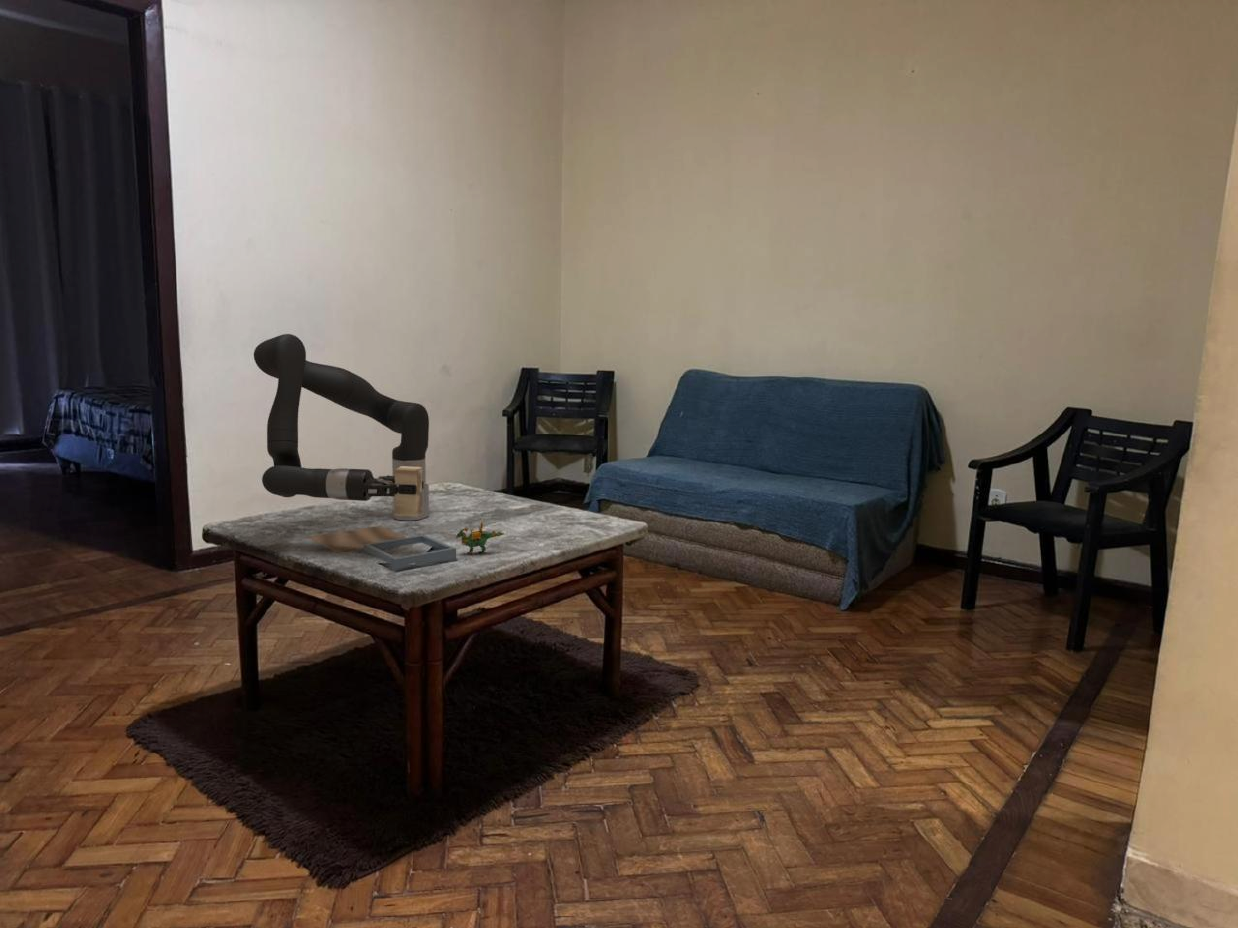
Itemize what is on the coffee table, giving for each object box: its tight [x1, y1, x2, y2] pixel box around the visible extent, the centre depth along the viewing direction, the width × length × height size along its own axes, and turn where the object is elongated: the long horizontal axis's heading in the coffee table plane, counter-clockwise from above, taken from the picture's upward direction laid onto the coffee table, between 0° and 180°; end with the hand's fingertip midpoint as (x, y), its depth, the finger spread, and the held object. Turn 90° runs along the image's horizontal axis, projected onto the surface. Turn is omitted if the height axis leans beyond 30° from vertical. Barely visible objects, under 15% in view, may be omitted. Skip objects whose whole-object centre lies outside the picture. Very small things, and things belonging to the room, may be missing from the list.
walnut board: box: [307, 525, 407, 553], centre depth 222 cm, size 20×18×2 cm
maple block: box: [395, 466, 422, 517], centre depth 208 cm, size 5×5×11 cm
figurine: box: [455, 521, 505, 556], centre depth 216 cm, size 3×12×8 cm, turn 107°
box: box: [363, 534, 457, 573], centre depth 210 cm, size 16×16×3 cm
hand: (419, 487), depth 207 cm, fingers closed on maple block, 5 cm apart
